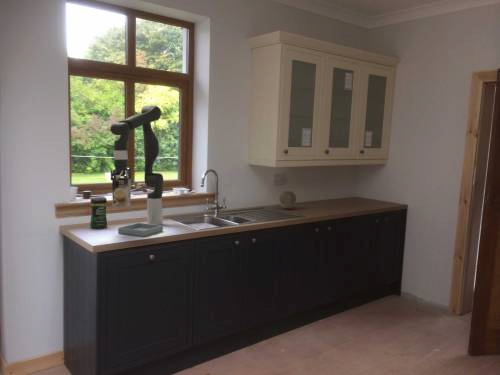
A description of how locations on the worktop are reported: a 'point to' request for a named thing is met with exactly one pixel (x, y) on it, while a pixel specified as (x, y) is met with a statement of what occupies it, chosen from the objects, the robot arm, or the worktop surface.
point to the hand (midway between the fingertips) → (121, 187)
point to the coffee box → (122, 193)
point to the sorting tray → (140, 229)
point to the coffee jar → (98, 212)
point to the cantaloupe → (287, 199)
